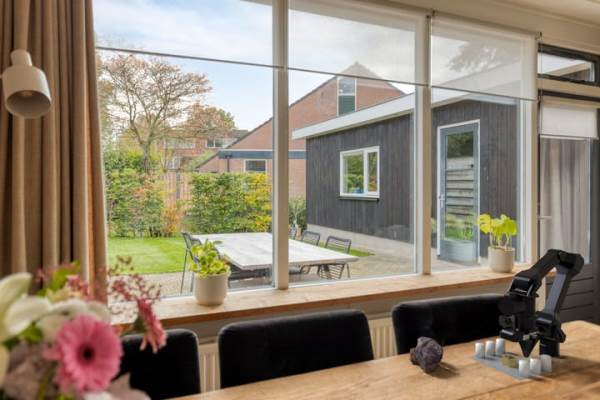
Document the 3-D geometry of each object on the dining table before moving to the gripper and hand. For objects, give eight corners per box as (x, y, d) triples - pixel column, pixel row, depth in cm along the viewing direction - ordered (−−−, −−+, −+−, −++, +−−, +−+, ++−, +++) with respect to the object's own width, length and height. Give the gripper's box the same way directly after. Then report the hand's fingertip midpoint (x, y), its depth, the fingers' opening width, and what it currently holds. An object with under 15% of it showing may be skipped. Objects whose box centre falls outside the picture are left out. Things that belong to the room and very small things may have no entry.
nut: (508, 360, 143) (508, 353, 143) (521, 366, 138) (521, 358, 138) (498, 362, 141) (498, 355, 141) (512, 368, 137) (512, 360, 137)
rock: (419, 377, 136) (449, 374, 137) (420, 353, 134) (450, 350, 135) (406, 358, 147) (433, 355, 148) (406, 335, 146) (434, 333, 147)
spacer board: (501, 352, 153) (501, 337, 153) (554, 373, 135) (554, 356, 135) (468, 360, 146) (468, 344, 146) (519, 383, 128) (519, 365, 128)
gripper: (523, 302, 154) (523, 345, 154) (486, 309, 146) (486, 353, 146) (553, 310, 144) (553, 355, 144) (514, 317, 136) (515, 365, 136)
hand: (526, 357), depth 143 cm, fingers closed
